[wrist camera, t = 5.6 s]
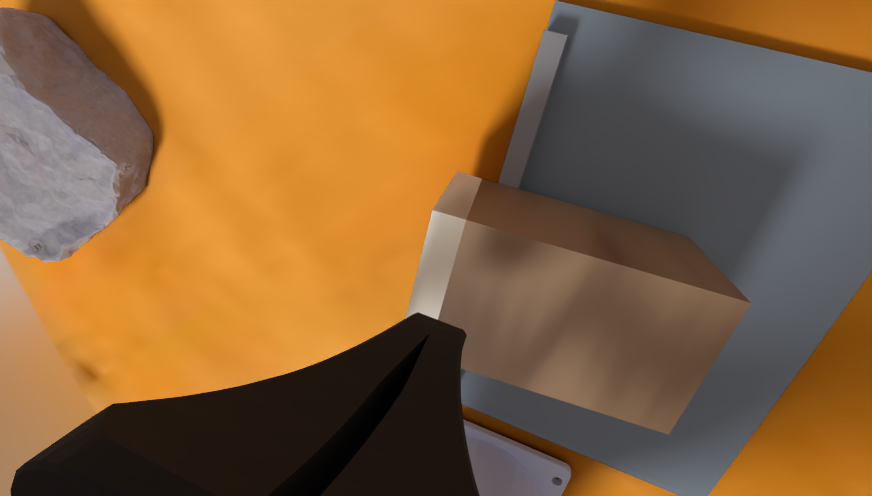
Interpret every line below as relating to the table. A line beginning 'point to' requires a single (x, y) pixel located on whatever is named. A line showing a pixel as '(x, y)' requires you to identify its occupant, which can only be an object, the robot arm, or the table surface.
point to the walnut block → (575, 300)
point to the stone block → (62, 141)
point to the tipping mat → (699, 211)
